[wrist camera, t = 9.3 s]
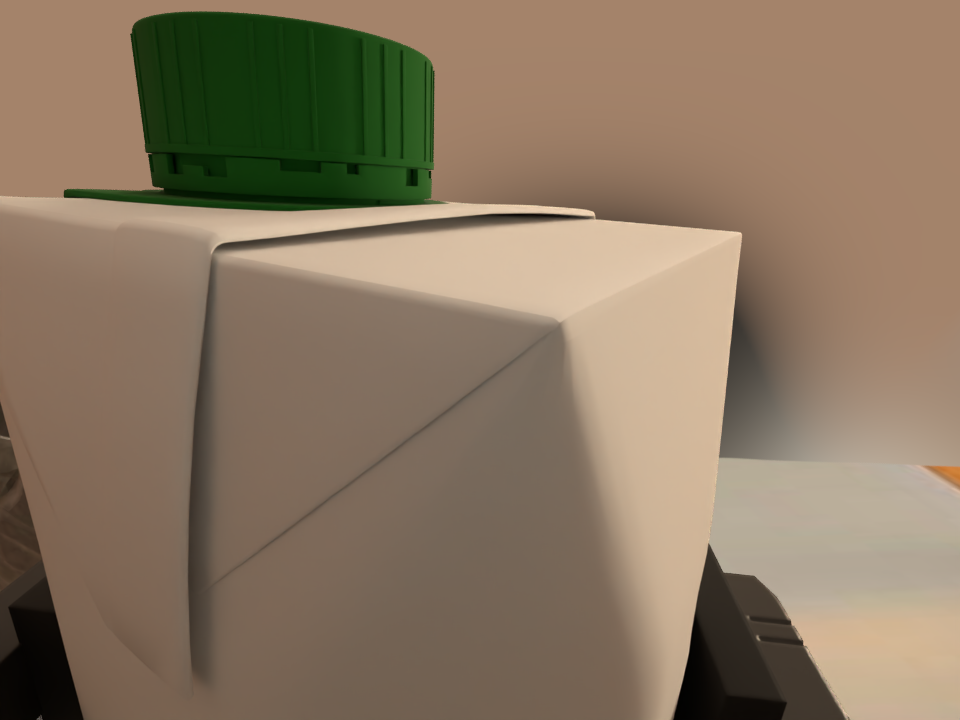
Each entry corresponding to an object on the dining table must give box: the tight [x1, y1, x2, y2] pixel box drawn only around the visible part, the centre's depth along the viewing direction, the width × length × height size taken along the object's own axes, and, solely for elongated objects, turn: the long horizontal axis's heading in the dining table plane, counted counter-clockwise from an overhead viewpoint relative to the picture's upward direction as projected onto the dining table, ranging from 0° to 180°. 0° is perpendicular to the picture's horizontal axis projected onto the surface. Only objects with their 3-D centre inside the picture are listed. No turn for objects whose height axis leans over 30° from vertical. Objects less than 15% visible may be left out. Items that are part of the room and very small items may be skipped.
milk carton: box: [0, 12, 742, 720], centre depth 10 cm, size 9×9×20 cm
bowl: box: [0, 402, 43, 591], centre depth 32 cm, size 20×20×15 cm
